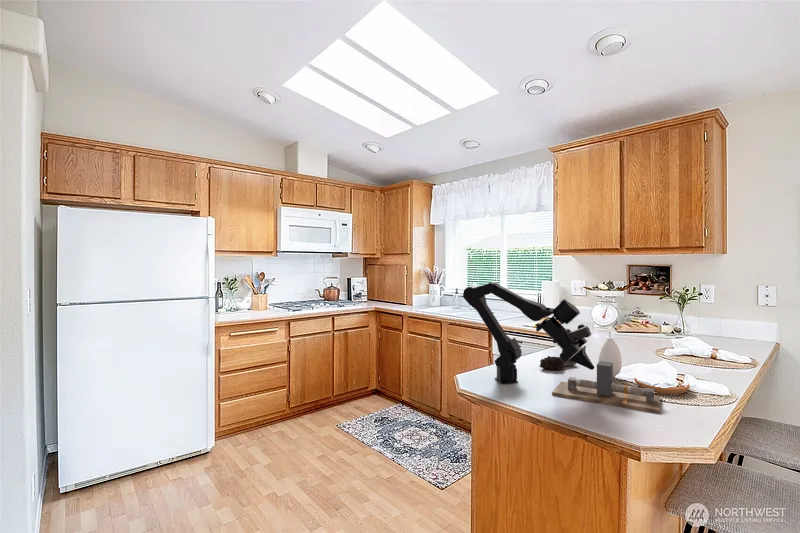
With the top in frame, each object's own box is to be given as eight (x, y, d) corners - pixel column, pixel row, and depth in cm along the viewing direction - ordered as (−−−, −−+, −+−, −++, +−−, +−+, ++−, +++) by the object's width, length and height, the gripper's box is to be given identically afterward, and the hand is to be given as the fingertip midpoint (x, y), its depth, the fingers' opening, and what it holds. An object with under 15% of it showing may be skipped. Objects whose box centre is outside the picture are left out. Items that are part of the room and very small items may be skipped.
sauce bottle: (624, 377, 150) (623, 330, 150) (618, 382, 144) (618, 333, 144) (602, 373, 155) (601, 328, 155) (595, 378, 150) (595, 330, 150)
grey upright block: (596, 394, 128) (596, 364, 127) (599, 389, 132) (599, 361, 132) (610, 396, 125) (610, 366, 125) (612, 391, 130) (612, 362, 130)
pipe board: (551, 395, 131) (551, 380, 131) (561, 384, 143) (561, 370, 143) (659, 413, 115) (659, 397, 114) (660, 399, 126) (660, 384, 126)
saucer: (670, 400, 126) (669, 390, 126) (624, 386, 141) (624, 377, 141) (700, 392, 133) (700, 384, 132) (653, 380, 147) (653, 372, 147)
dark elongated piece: (567, 364, 172) (567, 351, 171) (580, 368, 165) (581, 354, 165) (537, 369, 164) (537, 355, 164) (549, 373, 158) (550, 359, 158)
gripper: (569, 321, 126) (609, 359, 120) (580, 314, 141) (615, 348, 135) (544, 343, 130) (581, 381, 124) (557, 334, 146) (590, 368, 139)
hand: (593, 368), depth 131 cm, fingers closed
